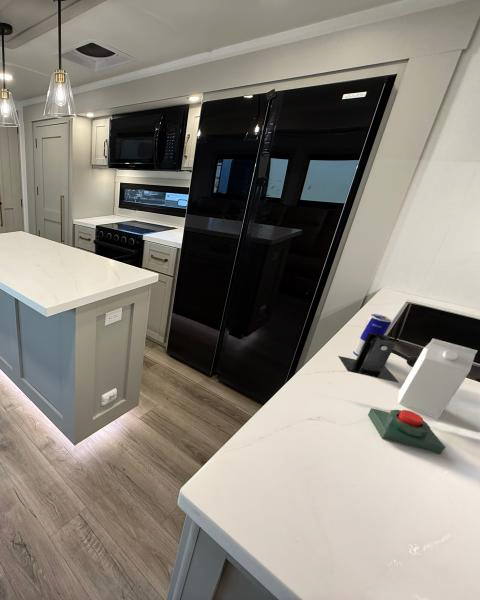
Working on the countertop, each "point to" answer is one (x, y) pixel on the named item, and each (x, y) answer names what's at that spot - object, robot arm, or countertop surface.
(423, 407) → the milk carton
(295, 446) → the countertop surface
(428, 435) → the button box
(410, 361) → the lever
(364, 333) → the beverage can
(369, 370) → the bracket
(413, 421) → the button
